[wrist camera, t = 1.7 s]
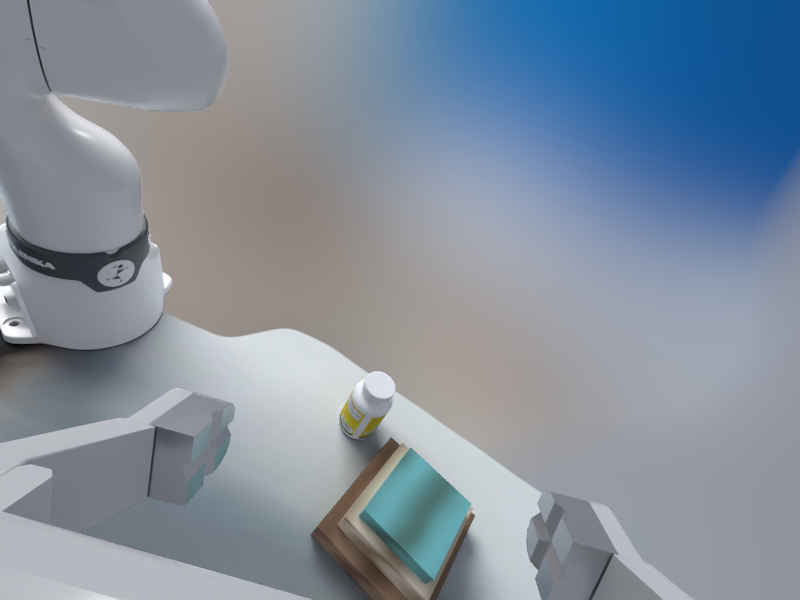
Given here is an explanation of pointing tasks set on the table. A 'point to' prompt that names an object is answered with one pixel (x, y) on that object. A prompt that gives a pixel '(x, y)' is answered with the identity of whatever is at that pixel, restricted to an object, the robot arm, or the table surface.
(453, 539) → the block tower
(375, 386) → the supplement bottle
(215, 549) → the table surface
